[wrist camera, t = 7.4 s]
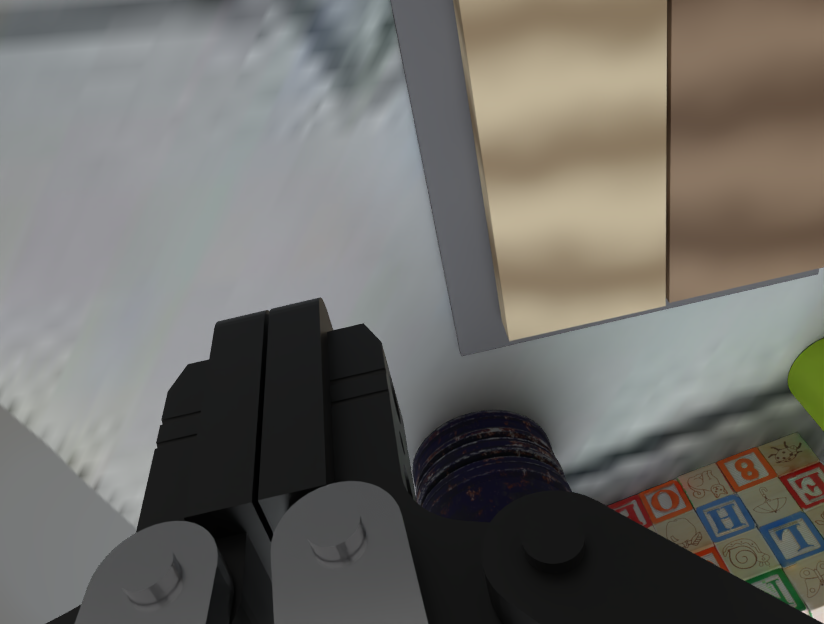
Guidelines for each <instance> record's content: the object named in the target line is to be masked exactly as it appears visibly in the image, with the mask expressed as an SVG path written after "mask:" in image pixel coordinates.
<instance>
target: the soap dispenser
mask: <svg viewBox="0 0 824 624" xmlns="http://www.w3.org/2000/svg"><path fill="white" fill-rule="evenodd" d="M788 386H789V389H790V391H791V393H792V394H793V395H794V396H795V398H796V399H797V400H798V401H799V402H800V404H801V405H802V406H803V407H804V408H805V410H806V411H807V412H808V413H809V414H810V416H811V417H812V418H813V419H814V420H815V421H816V423H817V424H818V425H819V426H820V427H821V429H822V430H823V431H824V338H823V339H821V340H819V341H817V342H815V343H814V344H812V345H811V346H809V347H808V348H807V349H806V350H805V351H803V352H802V353H801V354H800V355H799V357H798V358H797V359H796V360H795V362H794V363H793V365H792V367H791V369H790V372H789V375H788Z"/></svg>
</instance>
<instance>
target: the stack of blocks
mask: <svg viewBox="0 0 824 624" xmlns="http://www.w3.org/2000/svg"><path fill="white" fill-rule="evenodd" d="M607 507H609V508H611V509H613V510H615V511H616V512H618V513H620V514H622V515H624V516H626V517H628V518H629V519H631V520H633V521H635V522H637V523H639V524H641V525H642V526H644V527H646V528H648V529H650V530H652V531H653V532H655V533H657V534H659V535H661V536H663V537H665V538H666V539H668V540H670V541H672V542H674V543H676V544H678V545H679V546H681V547H683V548H685V549H687V550H689V551H690V552H692V553H694V554H696V555H698V556H700V557H702V558H703V559H705V560H707V561H709V562H711V563H713V564H715V565H716V566H718V567H720V568H722V569H724V570H726V571H727V572H729V573H731V574H733V575H735V576H737V577H739V578H740V579H742V580H744V581H746V582H748V583H750V584H751V585H753V586H755V587H757V588H759V589H761V590H763V591H764V592H766V593H768V594H770V595H772V596H774V597H776V598H777V599H779V600H781V601H783V602H785V603H787V604H788V605H790V606H792V607H794V608H796V609H798V610H800V611H801V612H803V613H805V614H807V615H809V616H811V617H813V618H814V619H816V620H818V621H820V622H822V623H824V465H823V464H822V463H820V460H819V459H818V457H817V456H816V455H815V454H814V453H813V451H812V450H811V449H810V447H809V446H808V445H807V444H806V442H805V441H804V440H803V439H802V438H801V436H800V435H799V434H798V433H793V434H791V435H788V436H785V437H783V438H780V439H777V440H775V441H772V442H770V443H767V444H764V445H762V446H759V447H755V448H752V449H749V450H747V451H744V452H741V453H739V454H736V455H733V456H731V457H728V458H726V459H723V460H720V461H718V462H716V463H713V464H710V465H707V466H704V467H702V468H699V469H697V470H694V471H691V472H689V473H686V474H684V475H681V476H679V477H677V478H676V479H674V480H671V481H668V482H666V483H664V484H662V485H659V486H656V487H653V488H651V489H648V490H646V491H643V492H641V493H639V494H638V495H634V496H631V497H629V498H626V499H624V500H621V501H618V502H616V503H613V504H611V505H608V506H607Z"/></svg>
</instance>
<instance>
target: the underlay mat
mask: <svg viewBox="0 0 824 624" xmlns="http://www.w3.org/2000/svg"><path fill="white" fill-rule="evenodd" d="M390 1H391V6H392V11H393V16H394V21H395V26H396V31H397V36H398V41H399V46H400V51H401V56H402V61H403V66H404V72H405V77H406V82H407V87H408V92H409V97H410V102H411V107H412V112H413V117H414V122H415V127H416V132H417V137H418V142H419V147H420V152H421V157H422V162H423V167H424V172H425V177H426V183H427V188H428V193H429V198H430V203H431V208H432V213H433V218H434V223H435V228H436V233H437V238H438V243H439V248H440V253H441V258H442V263H443V268H444V273H445V278H446V283H447V288H448V294H449V299H450V304H451V309H452V314H453V319H454V324H455V329H456V334H457V339H458V344H459V349H460V353H461V356H465V355H470V354H474V353H478V352H483V351H487V350H491V349H496V348H500V347H504V346H509V345H513V344H517V343H522V342H526V341H530V340H535V339H539V338H543V337H548V336H552V335H556V334H561V333H565V332H569V331H574V330H578V329H582V328H587V327H591V326H595V325H600V324H604V323H608V322H613V321H617V320H621V319H626V318H630V317H634V316H639V315H643V314H647V313H652V312H656V311H660V310H665V309H669V308H673V307H678V306H682V305H686V304H691V303H695V302H699V301H704V300H708V299H712V298H717V297H721V296H725V295H730V294H734V293H738V292H743V291H747V290H751V289H756V288H760V287H764V286H769V285H773V284H777V283H782V282H786V281H790V280H795V279H799V278H803V277H808V276H812V275H816V274H818V272H819V268H818V269H814V270H810V271H805V272H801V273H797V274H792V275H788V276H784V277H779V278H775V279H771V280H766V281H762V282H758V283H753V284H749V285H745V286H740V287H736V288H732V289H727V290H723V291H719V292H714V293H710V294H706V295H701V296H697V297H693V298H688V299H684V300H680V301H675V302H671V303H669V302H668V300H667V299H666V306H663V307H659V308H654V309H650V310H646V311H641V312H637V313H632V314H628V315H623V316H619V317H615V318H610V319H606V320H601V321H597V322H592V323H588V324H584V325H579V326H575V327H570V328H566V329H561V330H557V331H552V332H548V333H544V334H539V335H535V336H530V337H526V338H521V339H517V340H513V341H509V339H508V336H507V334H506V331H505V328H504V326H503V323H502V319H501V313H500V306H499V300H498V293H497V286H496V280H495V273H494V267H493V260H492V254H491V247H490V240H489V234H488V227H487V221H486V214H485V208H484V201H483V195H482V188H481V181H480V175H479V168H478V162H477V155H476V149H475V142H474V135H473V129H472V122H471V116H470V109H469V103H468V96H467V90H466V83H465V76H464V70H463V63H462V57H461V50H460V44H459V37H458V30H457V24H456V17H455V11H454V4H453V0H390Z"/></svg>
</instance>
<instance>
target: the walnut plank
mask: <svg viewBox="0 0 824 624" xmlns="http://www.w3.org/2000/svg"><path fill="white" fill-rule="evenodd" d="M823 267H824V0H667V110H666V299H667V300H668V302H669V303H671V302H675V301H680V300H684V299H688V298H693V297H697V296H701V295H706V294H710V293H714V292H719V291H723V290H727V289H732V288H736V287H740V286H745V285H749V284H753V283H758V282H762V281H766V280H771V279H775V278H779V277H784V276H788V275H792V274H797V273H801V272H805V271H810V270H814V269H818V268H823Z"/></svg>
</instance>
